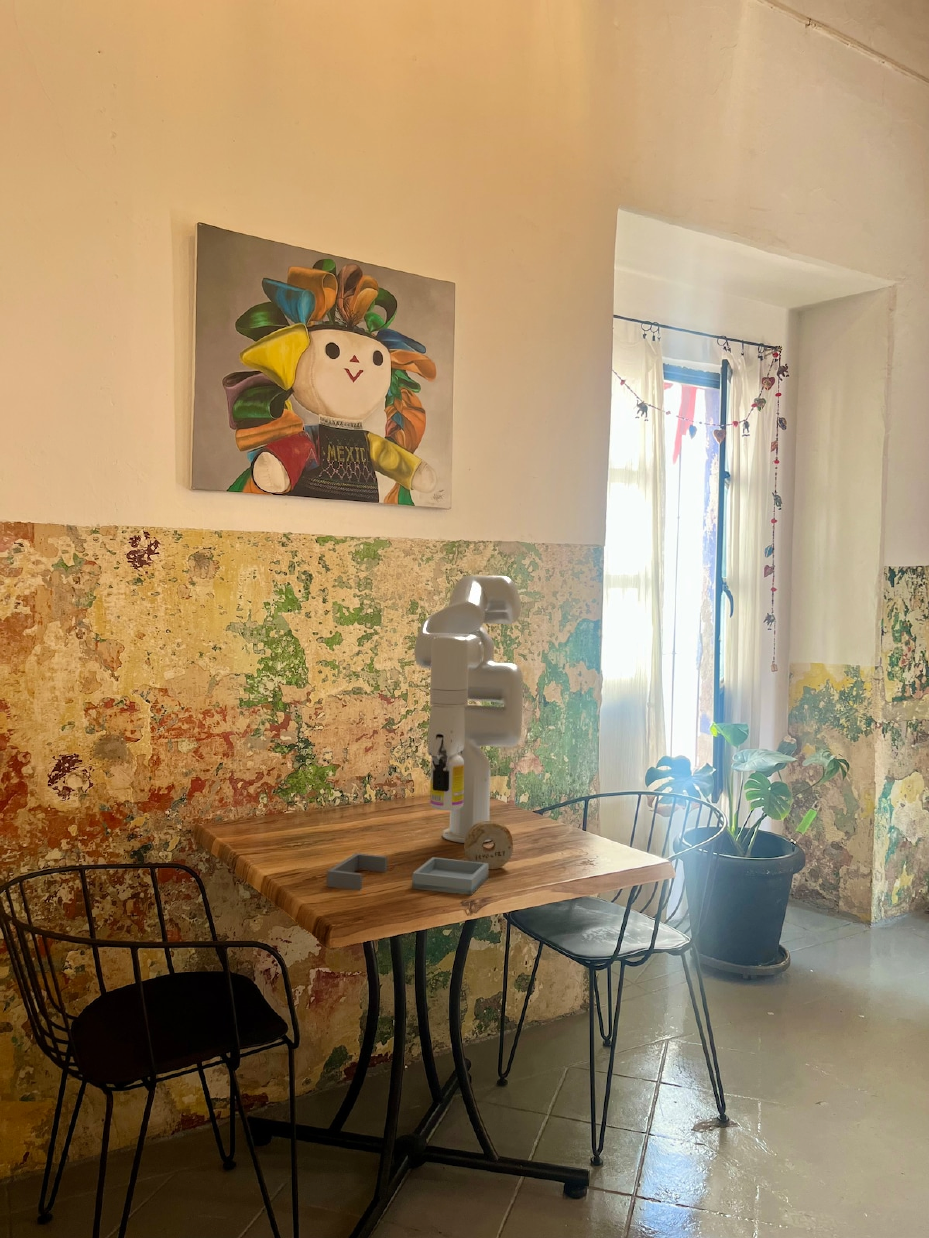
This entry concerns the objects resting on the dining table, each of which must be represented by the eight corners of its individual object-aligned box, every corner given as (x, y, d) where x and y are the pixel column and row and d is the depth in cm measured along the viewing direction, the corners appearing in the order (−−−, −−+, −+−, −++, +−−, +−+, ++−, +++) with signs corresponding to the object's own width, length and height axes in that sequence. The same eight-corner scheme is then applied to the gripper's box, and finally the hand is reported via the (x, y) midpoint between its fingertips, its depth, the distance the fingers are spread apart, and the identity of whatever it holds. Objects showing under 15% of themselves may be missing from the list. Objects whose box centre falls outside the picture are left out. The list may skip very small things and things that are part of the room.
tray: (432, 871, 190) (432, 857, 190) (488, 877, 187) (488, 863, 187) (412, 888, 179) (412, 872, 179) (471, 895, 175) (471, 879, 175)
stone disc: (510, 865, 196) (512, 819, 196) (513, 870, 193) (514, 823, 193) (462, 865, 196) (463, 818, 196) (463, 870, 192) (465, 822, 192)
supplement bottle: (463, 803, 186) (464, 741, 186) (463, 811, 180) (464, 746, 179) (430, 803, 186) (431, 740, 186) (429, 810, 180) (430, 745, 179)
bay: (355, 867, 192) (356, 852, 192) (386, 870, 190) (387, 856, 190) (326, 886, 179) (327, 871, 179) (359, 890, 177) (360, 874, 177)
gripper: (445, 692, 192) (443, 777, 192) (415, 701, 175) (413, 793, 176) (479, 694, 189) (477, 780, 190) (452, 703, 173) (450, 797, 173)
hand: (447, 786), depth 183 cm, fingers closed on supplement bottle, 6 cm apart
